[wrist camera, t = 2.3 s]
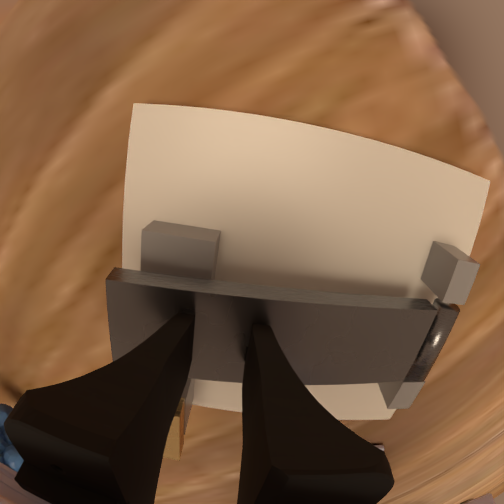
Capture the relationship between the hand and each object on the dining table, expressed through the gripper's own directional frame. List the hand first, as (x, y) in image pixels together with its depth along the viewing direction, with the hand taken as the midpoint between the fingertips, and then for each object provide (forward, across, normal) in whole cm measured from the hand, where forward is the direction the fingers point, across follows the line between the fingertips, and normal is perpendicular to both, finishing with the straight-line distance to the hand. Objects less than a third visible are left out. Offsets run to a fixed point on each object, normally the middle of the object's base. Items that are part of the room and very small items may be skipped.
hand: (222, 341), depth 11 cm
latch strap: (+1, -3, 0) cm, 3 cm away
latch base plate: (+5, -3, 0) cm, 6 cm away
